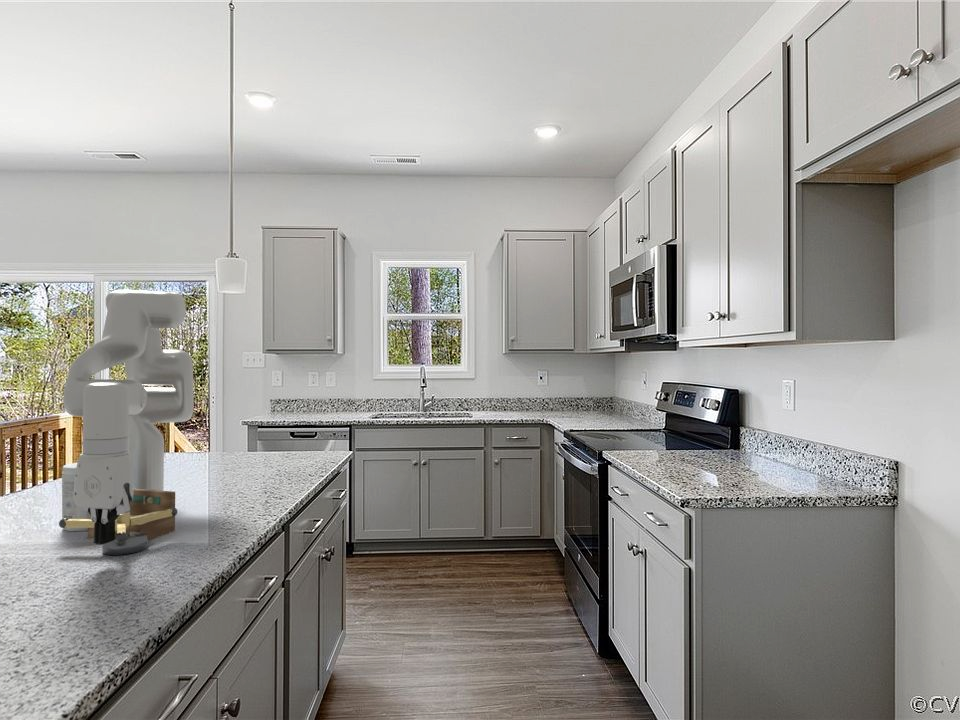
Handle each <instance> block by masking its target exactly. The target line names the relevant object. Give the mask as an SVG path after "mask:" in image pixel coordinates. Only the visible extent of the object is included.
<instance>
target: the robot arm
mask: <svg viewBox="0 0 960 720" xmlns="http://www.w3.org/2000/svg"><path fill="white" fill-rule="evenodd" d="M105 307H106V310H107V312H106V316H105V322H104V326H103V331H102V336H101V339H100V340H98V341H97V342H95V343H94V344H92V345H90V346H89V347H87V348H86V349H85V350H83V351H82V352H81V353H80V354H79V355H78V356H77V357H76V358H75V359H74V360H73V361H72V363H71V365H70V367H69V370H68V373H67V376H66V380H65V384H64V389H63V396H62V403H63V407H64V409H65V411H66V412H67V413H68V414H69V415H70V416H73V417H76V418H77V417H78V418H82V440H81V446H82V448H81V449H82V450H81V451H82V453H80V454H79V456H78V459H77V462H76V463H77V467H76V474H75V483H74V503H75V504H76V505H78V506H80V507H81V509H82V510H85V511H87V512H89V514H90V515H91V520H92V522H93V523H94V539H93V543H94V544H95V545H101V546H102V544H105V543H108V542H111V541H114V540H115V520H118V517H119V515H120V514H125V513H128V512H130V506H129V504H130V503H131V502H132V500H133V492H134V489H146V490H159V491H165V490H164V485H165V483H164V478H165V474H164V473H165V438H164V436H163V434H162V433H161V431H160V430H159V429H158V428H157V427H156V426H155V424H160V423H163V424H164V423H166V424H167V423H169V424H170V423H184V422H188V421H190V419H191V418H192V416H193V415H194V409H195V405H194V404H195V397H194V396H195V395H194V394H195V393H194V391H195V390H194V368H193V367H194V364H193V360H192V357H191V355H190V353H188V352H187V351H185V350H182V349H163V348H162V339H161V337H162V336H161V335H162V334H161V331H160V329H175V328H178V327H180V326H181V325H183V322H184V320H185V318H186V315H187V314H186V312H187V307H186V301H185V298H184V297H183V295H182V294H181V293H179V292H173V291H172V292H168V291H154V290H153V291H152V290H137V289H120V290H119V289H118V290H113V291H110V292H109V293H108V294H107V295H106V297H105ZM122 364H124V370H125V371H124V372H125V377H126V379H111V378H109V379H103V378H102V379H97V378H96V379H95V378H93V379H90V378H91V377H93V376H94V375H96V374H97V373H99V372H101V371H104V370H106V369H109V368H112V367H115V366H118V365H122ZM144 386H148V387H144ZM149 386H151V387H149ZM152 386H153V387H152ZM154 386H157V387H154ZM159 386H172V387H159ZM110 510H111V511H110Z"/></svg>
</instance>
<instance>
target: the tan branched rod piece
mask: <svg viewBox="0 0 960 720" xmlns="http://www.w3.org/2000/svg"><path fill="white" fill-rule="evenodd" d="M176 515H178V509H177V508H176V507H175V508H174V507H172V508H170V509H166V510H161V511H157V512H152V513H147V514H143V515H138V516H134V517H130V512H128V513H125V514H120V515H119V517H118V520H115V540H114V541H111V542H108V543H105V544H102V545H101V546H102V547H101V548H102V549H101V550H102V551H101V552H102V554H104V555H106V556H108V555H109V556H123V555H130V554H133V553H137V552H141V551H143V550H145V549H147V548H148V541H147V533H145V532H140V531H130V526H132V525H136V524H140V523H145V522H149V521H153V520H157V519H162V518H166V517H170V516H171V517H173V516H175V517H176ZM58 526H59V527H60V528H61V529H63V528H94V523H93V522H92V520H91V519H68V518H64V519H62V518H61V519H60V520H59V522H58Z"/></svg>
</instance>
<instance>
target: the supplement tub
mask: <svg viewBox="0 0 960 720" xmlns="http://www.w3.org/2000/svg"><path fill="white" fill-rule="evenodd" d="M77 463H78V462H74V463H68V464H64V465H63V466H62V471H61V505H62V506H61V511H62V512H61V514H62V515H61V519H64V518H68V519H91V515H90V514H89V512H87V511H85V510H82V509H81V507H80V506H78V505H76V504H75V503H74V483H75V474H76V467H77ZM110 511H111V510H110ZM62 529H63V530H65V531H68V532H87V531H88V528H62Z"/></svg>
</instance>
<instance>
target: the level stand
mask: <svg viewBox="0 0 960 720" xmlns="http://www.w3.org/2000/svg"><path fill="white" fill-rule="evenodd" d="M129 506H130V517H134V516H138V515H143V514H147V513H152V512H157V511H161V510H166V509H170V508H172V507H174V508H176V491H170V490H169V491H168V490H164V491H159V490H146V489H134V492H133V500H132V502H131V503H130V504H129ZM130 531H140V532H145V533H147V542H148V541H150V540H154V539H157V538H159V537H162V536H165V535H168V534H171V533H173V531H174V532H175V531H176V515H175V516H173V517H171V516H170V517H166V518H162V519H157V520H153V521H149V522H145V523H140V524H136V525H132V526H130ZM170 532H171V533H170ZM86 533H87V534H86V535H87V539H93V540H94V528H88V531H86Z"/></svg>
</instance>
